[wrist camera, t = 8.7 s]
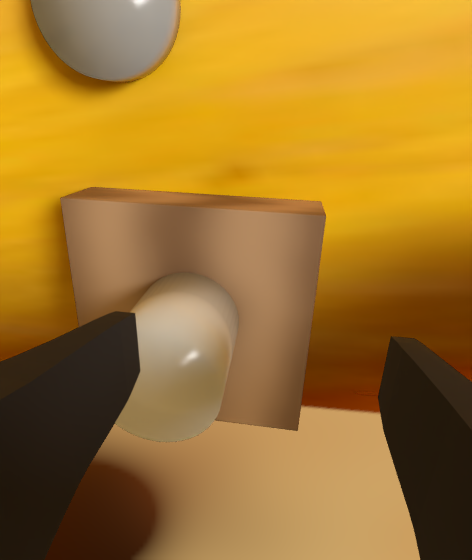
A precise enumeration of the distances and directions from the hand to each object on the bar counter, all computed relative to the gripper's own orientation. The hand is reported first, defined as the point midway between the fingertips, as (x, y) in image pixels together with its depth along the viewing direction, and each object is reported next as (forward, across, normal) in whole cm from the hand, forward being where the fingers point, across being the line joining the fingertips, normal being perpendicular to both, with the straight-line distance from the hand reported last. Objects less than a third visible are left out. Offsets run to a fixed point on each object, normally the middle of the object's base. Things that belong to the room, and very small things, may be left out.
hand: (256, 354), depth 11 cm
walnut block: (+10, +4, +4) cm, 11 cm away
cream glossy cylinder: (+7, +4, +3) cm, 9 cm away
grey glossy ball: (+10, +8, -10) cm, 17 cm away
